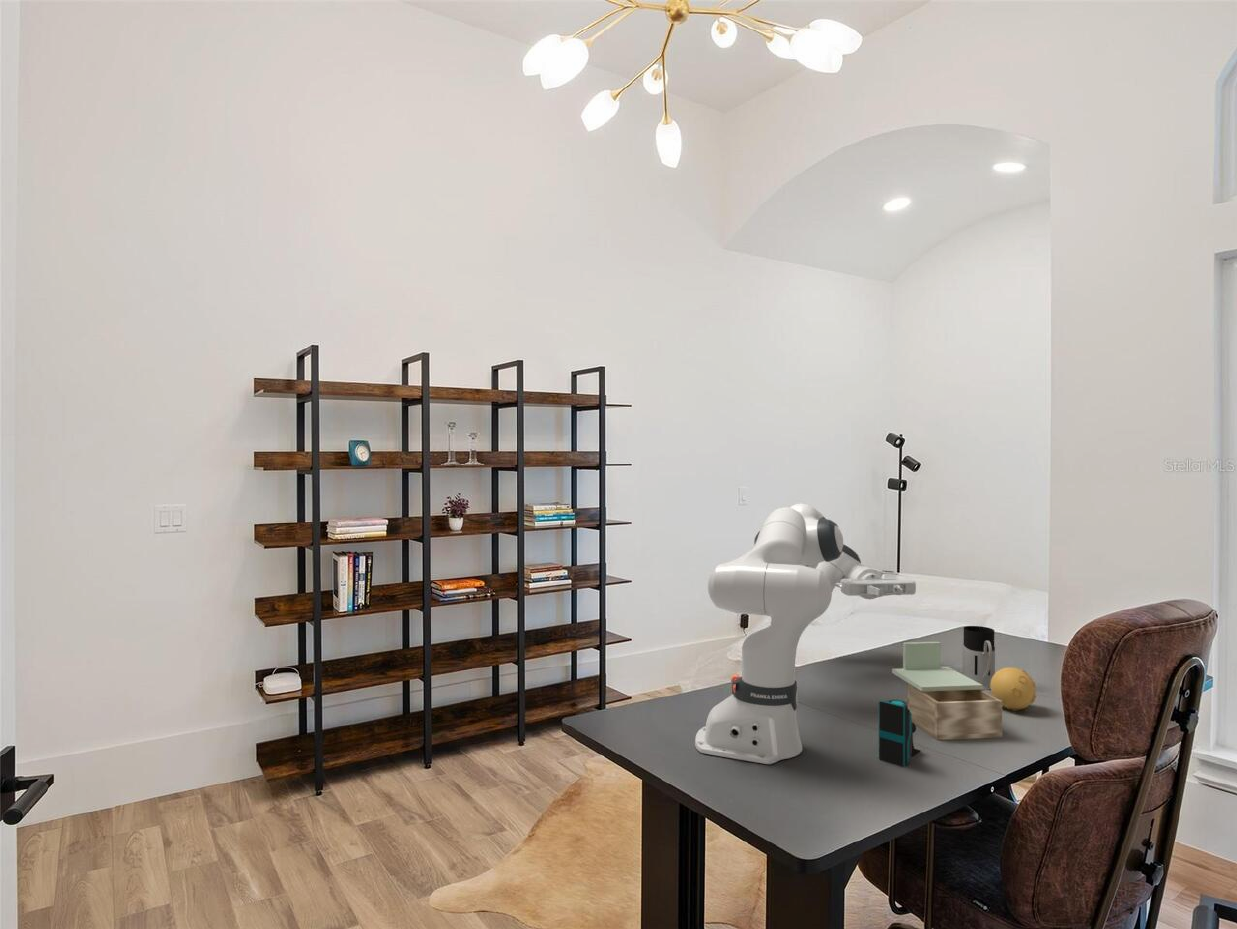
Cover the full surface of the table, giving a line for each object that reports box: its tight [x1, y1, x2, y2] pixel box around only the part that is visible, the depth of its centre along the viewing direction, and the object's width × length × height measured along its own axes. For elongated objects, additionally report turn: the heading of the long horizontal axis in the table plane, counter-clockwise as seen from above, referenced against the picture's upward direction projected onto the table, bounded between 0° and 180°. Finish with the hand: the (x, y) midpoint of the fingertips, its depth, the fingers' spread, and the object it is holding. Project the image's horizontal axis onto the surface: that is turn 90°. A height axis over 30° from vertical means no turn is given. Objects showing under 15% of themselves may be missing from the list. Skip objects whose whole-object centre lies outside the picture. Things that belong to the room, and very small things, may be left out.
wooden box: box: [907, 683, 1003, 741], centre depth 167 cm, size 15×13×8 cm
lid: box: [891, 641, 983, 691], centre depth 174 cm, size 15×14×7 cm
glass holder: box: [962, 625, 996, 691], centre depth 195 cm, size 9×14×15 cm, turn 170°
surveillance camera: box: [878, 699, 921, 767], centre depth 151 cm, size 6×12×10 cm
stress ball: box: [990, 666, 1037, 712], centre depth 179 cm, size 10×10×10 cm
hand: (890, 592), depth 197 cm, fingers open, 4 cm apart
